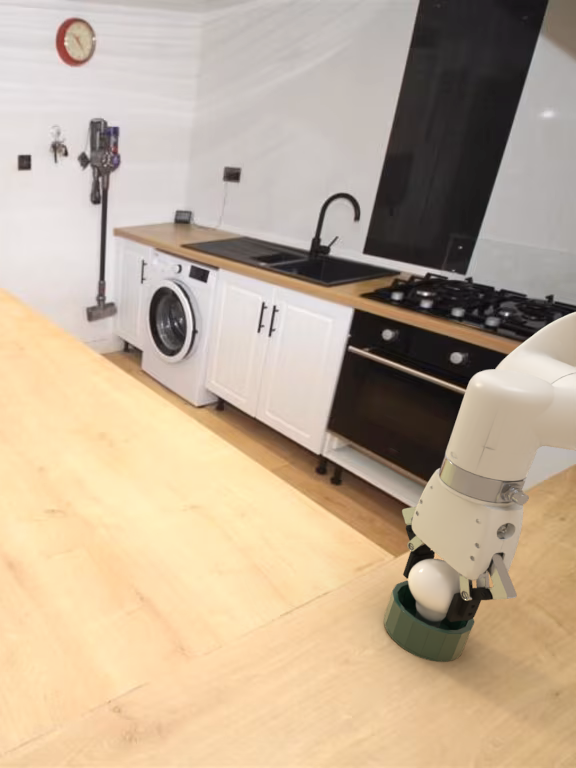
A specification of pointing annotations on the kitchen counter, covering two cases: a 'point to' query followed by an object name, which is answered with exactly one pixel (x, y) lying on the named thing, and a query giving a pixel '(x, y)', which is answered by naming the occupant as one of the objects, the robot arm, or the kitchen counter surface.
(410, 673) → the kitchen counter surface
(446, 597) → the lightbulb
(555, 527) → the kitchen counter surface
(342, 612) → the kitchen counter surface
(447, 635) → the bowl
